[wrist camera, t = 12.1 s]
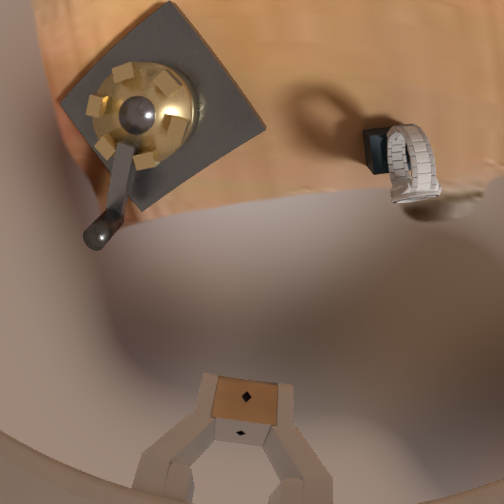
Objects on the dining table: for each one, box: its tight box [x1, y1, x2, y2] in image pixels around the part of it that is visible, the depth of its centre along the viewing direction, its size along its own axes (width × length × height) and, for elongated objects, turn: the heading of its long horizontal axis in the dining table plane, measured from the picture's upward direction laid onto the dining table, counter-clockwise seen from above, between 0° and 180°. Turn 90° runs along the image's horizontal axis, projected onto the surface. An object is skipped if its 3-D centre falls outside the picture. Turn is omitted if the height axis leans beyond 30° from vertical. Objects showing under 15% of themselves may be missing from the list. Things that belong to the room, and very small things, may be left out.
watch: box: [363, 124, 441, 203], centre depth 28 cm, size 6×8×11 cm
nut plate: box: [60, 1, 266, 212], centre depth 32 cm, size 18×18×2 cm
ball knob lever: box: [83, 61, 198, 251], centre depth 29 cm, size 19×11×9 cm, turn 159°
